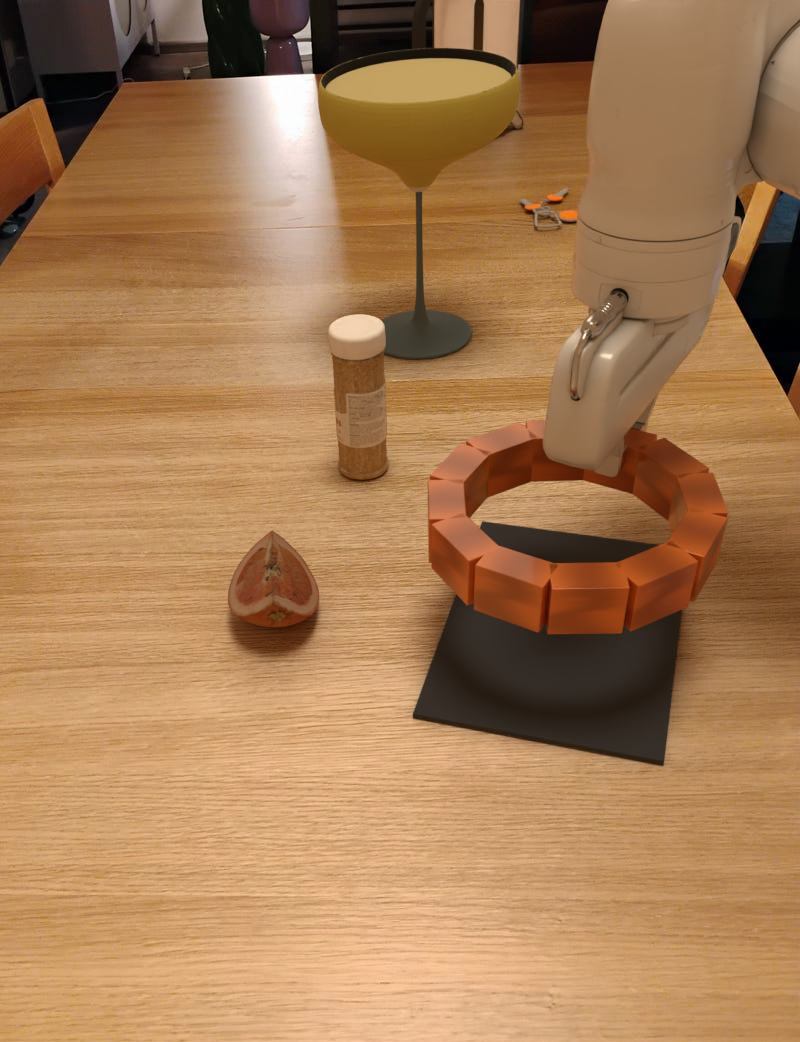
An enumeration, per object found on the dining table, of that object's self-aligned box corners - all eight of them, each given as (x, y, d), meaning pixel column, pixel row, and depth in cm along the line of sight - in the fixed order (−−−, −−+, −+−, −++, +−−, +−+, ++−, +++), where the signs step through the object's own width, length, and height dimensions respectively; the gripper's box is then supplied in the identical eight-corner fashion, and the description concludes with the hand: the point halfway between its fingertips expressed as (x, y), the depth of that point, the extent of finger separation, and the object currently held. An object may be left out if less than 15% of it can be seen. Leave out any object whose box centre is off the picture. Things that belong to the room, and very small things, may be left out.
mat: (482, 525, 83) (482, 520, 83) (688, 552, 79) (689, 548, 78) (412, 717, 68) (412, 713, 68) (663, 765, 64) (664, 761, 63)
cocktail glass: (393, 286, 118) (387, 40, 101) (537, 317, 109) (556, 55, 92) (301, 353, 107) (276, 92, 91) (452, 393, 99) (455, 113, 82)
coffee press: (420, 117, 163) (418, -114, 143) (523, 113, 161) (535, -123, 141) (412, 154, 151) (409, -94, 131) (523, 150, 148) (537, -103, 128)
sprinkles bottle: (338, 455, 92) (327, 313, 83) (388, 452, 92) (383, 310, 83) (338, 484, 89) (327, 340, 80) (390, 481, 89) (386, 336, 80)
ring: (594, 436, 77) (599, 393, 74) (777, 568, 64) (790, 522, 62) (379, 514, 72) (377, 471, 69) (532, 674, 59) (536, 629, 57)
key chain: (588, 227, 126) (588, 220, 125) (527, 231, 126) (528, 224, 126) (571, 190, 135) (572, 183, 135) (515, 194, 136) (516, 187, 135)
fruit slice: (322, 650, 74) (317, 597, 70) (229, 657, 74) (219, 605, 70) (319, 577, 80) (314, 525, 76) (233, 584, 80) (224, 532, 77)
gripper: (634, 344, 55) (604, 550, 64) (750, 211, 67) (711, 401, 76) (525, 321, 57) (511, 522, 67) (656, 198, 69) (629, 382, 79)
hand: (618, 456), depth 71 cm, fingers closed on ring, 2 cm apart
